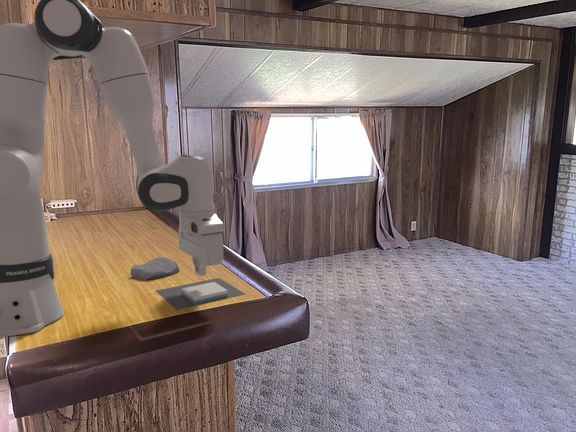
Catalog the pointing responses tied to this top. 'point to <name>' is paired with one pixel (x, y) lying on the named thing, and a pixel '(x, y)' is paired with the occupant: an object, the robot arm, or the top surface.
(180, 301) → the mat
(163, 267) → the stone block
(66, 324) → the top surface
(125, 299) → the top surface
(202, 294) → the tile
